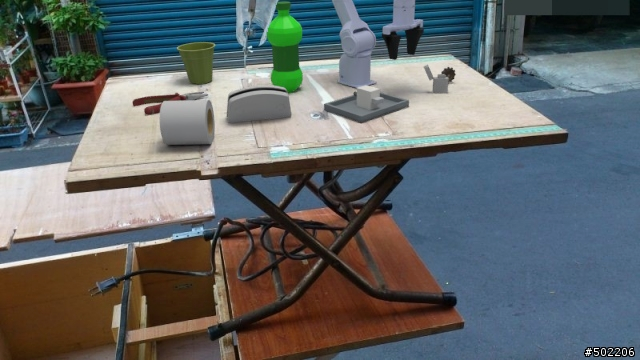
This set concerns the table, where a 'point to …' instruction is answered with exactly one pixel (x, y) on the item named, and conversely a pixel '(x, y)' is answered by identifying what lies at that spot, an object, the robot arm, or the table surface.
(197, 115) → the toilet paper
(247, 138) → the table surface
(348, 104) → the tray
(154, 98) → the pliers
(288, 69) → the plastic bottle
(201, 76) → the plant pot
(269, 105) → the grey napkin holder
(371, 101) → the plug
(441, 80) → the lighter
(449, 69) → the gear
